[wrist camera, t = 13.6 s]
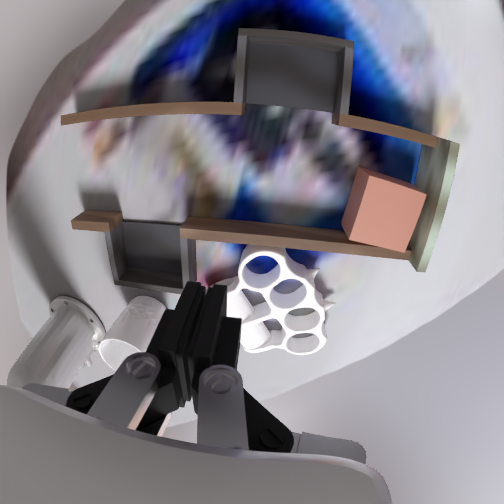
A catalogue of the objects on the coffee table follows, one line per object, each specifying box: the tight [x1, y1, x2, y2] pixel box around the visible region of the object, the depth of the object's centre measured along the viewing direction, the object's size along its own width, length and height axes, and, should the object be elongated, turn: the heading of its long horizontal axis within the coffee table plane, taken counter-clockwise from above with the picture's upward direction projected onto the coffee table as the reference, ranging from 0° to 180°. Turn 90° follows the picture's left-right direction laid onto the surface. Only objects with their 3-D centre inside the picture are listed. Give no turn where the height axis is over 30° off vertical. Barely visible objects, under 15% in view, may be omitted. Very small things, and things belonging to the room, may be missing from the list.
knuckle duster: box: [206, 245, 335, 355], centre depth 37 cm, size 3×18×15 cm
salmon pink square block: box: [341, 166, 427, 253], centre depth 29 cm, size 7×7×4 cm
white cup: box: [99, 295, 166, 371], centre depth 37 cm, size 8×8×10 cm
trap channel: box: [61, 28, 460, 294], centre depth 28 cm, size 30×42×6 cm
